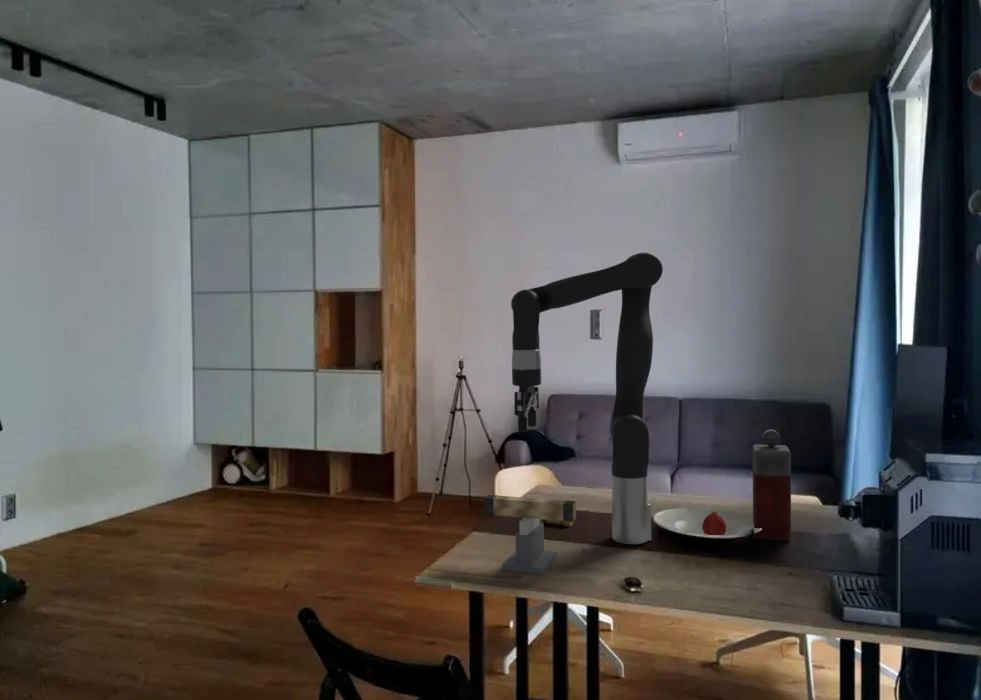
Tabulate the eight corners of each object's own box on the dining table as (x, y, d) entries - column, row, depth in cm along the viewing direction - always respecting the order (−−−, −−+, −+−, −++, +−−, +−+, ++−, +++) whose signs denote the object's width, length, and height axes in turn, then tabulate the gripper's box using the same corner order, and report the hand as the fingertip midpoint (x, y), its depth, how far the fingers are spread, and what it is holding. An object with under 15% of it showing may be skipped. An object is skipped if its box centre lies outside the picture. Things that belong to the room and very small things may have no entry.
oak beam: (484, 514, 167) (484, 497, 166) (488, 511, 169) (488, 494, 169) (573, 521, 159) (573, 504, 159) (576, 518, 162) (576, 501, 162)
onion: (701, 543, 177) (701, 512, 177) (703, 536, 182) (703, 506, 182) (725, 545, 175) (725, 514, 175) (726, 538, 180) (726, 508, 180)
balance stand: (557, 557, 169) (556, 511, 168) (543, 574, 157) (543, 525, 157) (518, 553, 172) (517, 508, 171) (502, 570, 161) (501, 521, 160)
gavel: (558, 496, 216) (589, 498, 212) (558, 510, 216) (589, 513, 212) (535, 508, 196) (569, 512, 192) (535, 525, 196) (569, 528, 192)
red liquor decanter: (787, 528, 188) (787, 426, 187) (791, 540, 177) (791, 433, 176) (752, 525, 191) (752, 425, 190) (754, 537, 180) (753, 432, 179)
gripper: (520, 365, 186) (521, 424, 187) (503, 369, 173) (505, 432, 173) (547, 365, 184) (548, 425, 184) (532, 369, 170) (533, 434, 171)
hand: (527, 428), depth 179 cm, fingers open, 8 cm apart
